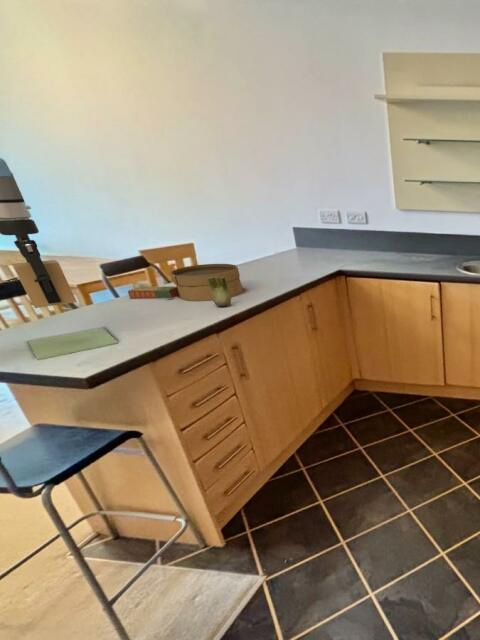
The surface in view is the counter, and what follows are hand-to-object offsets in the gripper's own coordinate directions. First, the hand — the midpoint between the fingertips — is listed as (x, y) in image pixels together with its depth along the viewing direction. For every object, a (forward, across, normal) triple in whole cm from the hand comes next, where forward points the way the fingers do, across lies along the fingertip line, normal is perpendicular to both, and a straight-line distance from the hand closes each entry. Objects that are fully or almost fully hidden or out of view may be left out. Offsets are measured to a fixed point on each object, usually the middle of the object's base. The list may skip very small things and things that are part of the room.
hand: (53, 300), depth 126 cm
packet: (+1, 0, 0) cm, 1 cm away
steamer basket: (+14, +37, -51) cm, 65 cm away
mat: (+14, 0, 0) cm, 14 cm away
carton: (+14, +47, -33) cm, 59 cm away
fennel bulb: (+14, +12, -47) cm, 50 cm away
